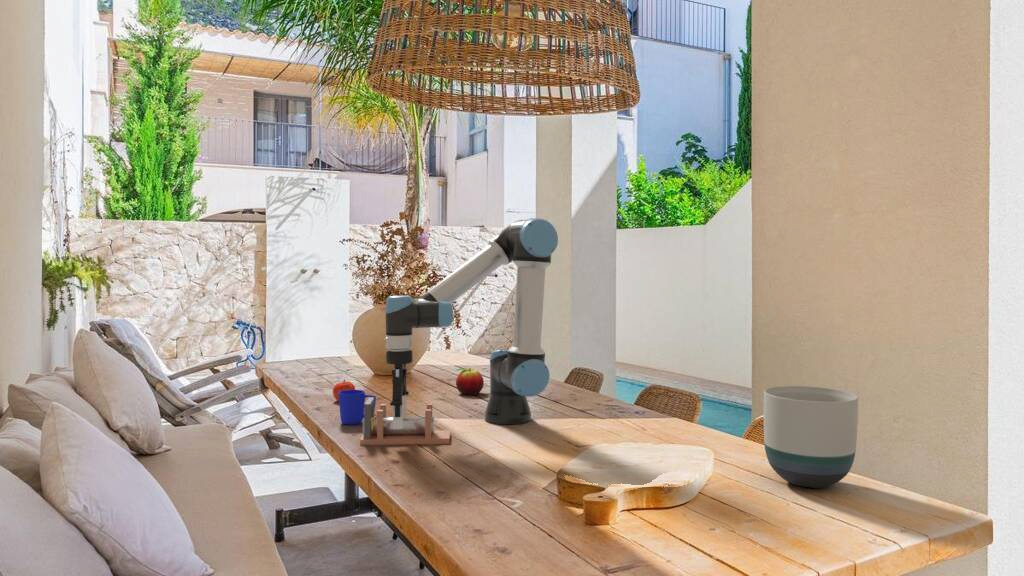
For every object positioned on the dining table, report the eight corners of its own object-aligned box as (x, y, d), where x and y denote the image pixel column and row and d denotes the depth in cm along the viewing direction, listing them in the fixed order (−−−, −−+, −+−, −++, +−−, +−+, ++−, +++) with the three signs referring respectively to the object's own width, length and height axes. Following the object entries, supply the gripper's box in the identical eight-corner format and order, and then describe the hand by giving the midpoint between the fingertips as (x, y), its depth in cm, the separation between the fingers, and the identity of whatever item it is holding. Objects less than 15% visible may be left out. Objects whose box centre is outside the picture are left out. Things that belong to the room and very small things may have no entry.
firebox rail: (450, 435, 218) (450, 396, 218) (449, 443, 209) (449, 403, 208) (364, 436, 217) (364, 397, 216) (360, 444, 207) (359, 404, 206)
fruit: (482, 396, 279) (483, 370, 279) (454, 396, 279) (454, 370, 279) (484, 391, 290) (484, 366, 290) (456, 391, 290) (456, 366, 290)
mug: (370, 427, 228) (370, 395, 228) (334, 425, 231) (334, 393, 230) (380, 421, 236) (380, 390, 236) (345, 419, 239) (345, 389, 238)
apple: (360, 400, 271) (360, 378, 271) (344, 404, 264) (344, 382, 264) (344, 398, 275) (344, 376, 275) (328, 401, 268) (328, 379, 268)
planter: (849, 504, 158) (851, 405, 157) (752, 488, 169) (754, 395, 168) (861, 480, 176) (863, 391, 175) (773, 467, 186) (774, 383, 185)
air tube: (433, 428, 216) (433, 413, 214) (433, 438, 212) (433, 422, 210) (365, 429, 215) (364, 414, 213) (362, 438, 210) (362, 423, 208)
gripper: (390, 344, 224) (391, 413, 225) (381, 355, 199) (382, 433, 200) (415, 344, 224) (415, 413, 225) (409, 355, 199) (410, 432, 200)
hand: (400, 422), depth 212 cm, fingers open, 13 cm apart
